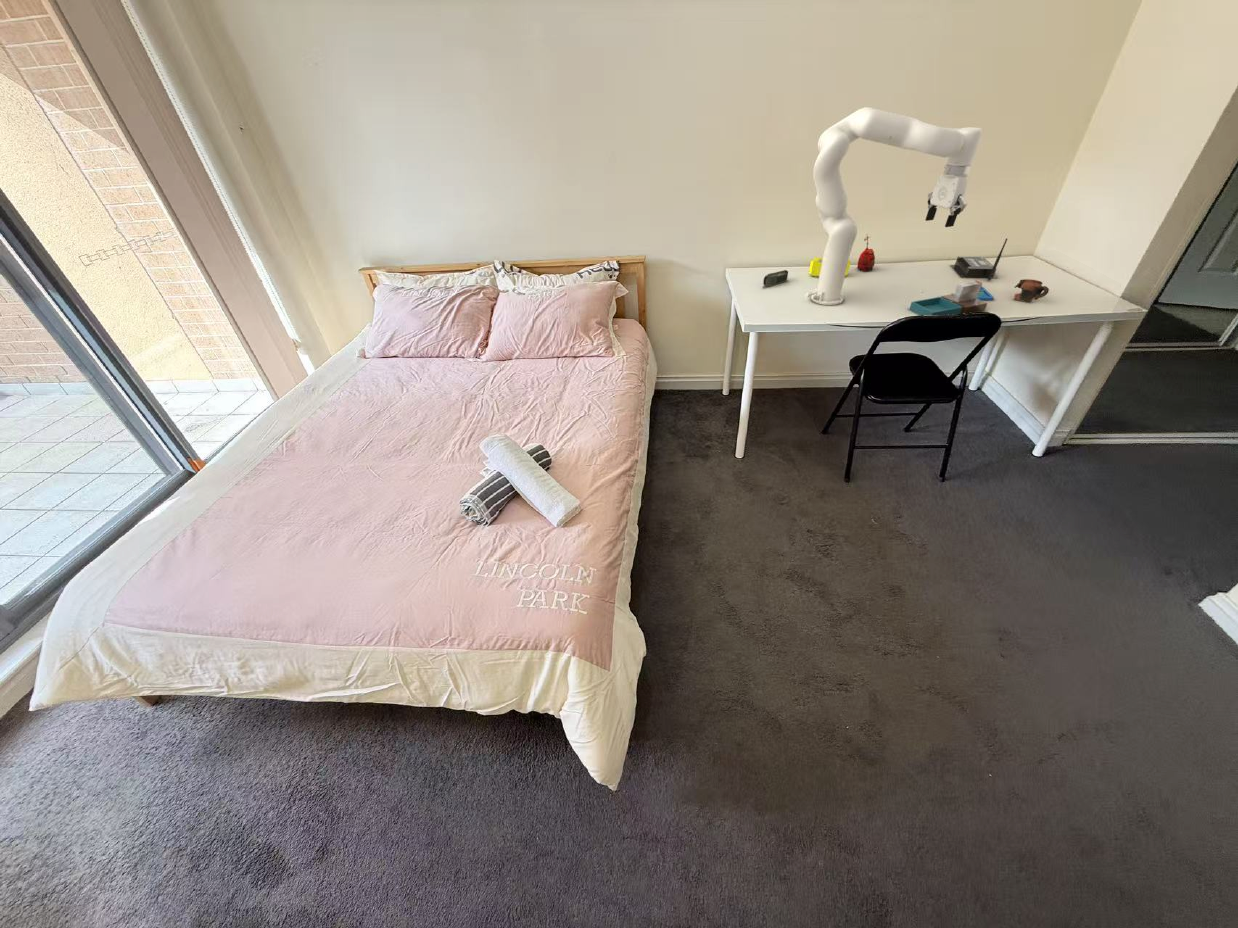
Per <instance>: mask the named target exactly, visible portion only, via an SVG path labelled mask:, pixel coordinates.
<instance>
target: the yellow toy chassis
mask: <svg viewBox="0 0 1238 928" xmlns="http://www.w3.org/2000/svg"><path fill="white" fill-rule="evenodd" d="M822 261H823V257H815V258H813V259H812V260H811V261H810V264H809V269H808V273H809V274H810V276H811V277H815V278H819V275H820V270H821V266H822ZM851 263H852V261H851V260H850V259H849V260H848V265H847V269H846V273H845V276H848V274H849V270H850V266H851Z"/></svg>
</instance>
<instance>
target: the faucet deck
mask: <svg viewBox="0 0 1238 928" xmlns="http://www.w3.org/2000/svg"><path fill="white" fill-rule="evenodd" d="M954 295H955V293H952V292H951V294H950V293H949V294H946V295H945V294H944V295H941V296H940V297H942V298H944V299H947V300H949V301H950V302H953V303H955V304H957V305H959V306H961V307H963V308H962V310H961V313H960V315H962V314H963V313H969V314H971V313H970V312H974V313H979V312H984V311H985V310H986V308H987V307H988V306H987V305H988V302H986V301H985V300H980V299H977V298H976V299H972V300H967V301H961V302H956V301H954V300H953V297H954ZM977 297H978V296H977Z"/></svg>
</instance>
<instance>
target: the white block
mask: <svg viewBox="0 0 1238 928" xmlns="http://www.w3.org/2000/svg"><path fill="white" fill-rule="evenodd" d="M983 284H984V283H983V282H982V281H980V280H975V281H970V282H964V283H959V284H958V285H957V287H956V289H955V292H954V294H955V295H954V297H953V300H954V301H956V302H961V301H967V300H972V299H976V298H977V296H978V293H979V291H980V289H981V286H982V287H983Z"/></svg>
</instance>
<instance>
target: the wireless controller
mask: <svg viewBox="0 0 1238 928" xmlns="http://www.w3.org/2000/svg"><path fill="white" fill-rule="evenodd" d="M1007 241H1008V237H1007V238H1005V240H1004V241H1003V245H1002V247H1001V249H1000V251H999V253H998V254H997V257H996V259H995V262H994V264H992V263H991V262H990V261H989V260H988V259H987V258H986V257H984V256H957V258H956V260H955V263H954V264H951V265H950V267H951V268H952V269H953V270H954V272H955V273H956V274H957V275H958V276H959V277H960V278H961V279H962V278H966V279H970V278H971V279H975V278H976V279H987V281H991V280H992V279H997V278H998V277H997V276H996V275H995V274H996V271H997V267H998V264H999V263H1000V259H1001V257H1002V254H1003V251H1004V248H1005V246H1006V244H1007Z"/></svg>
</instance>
